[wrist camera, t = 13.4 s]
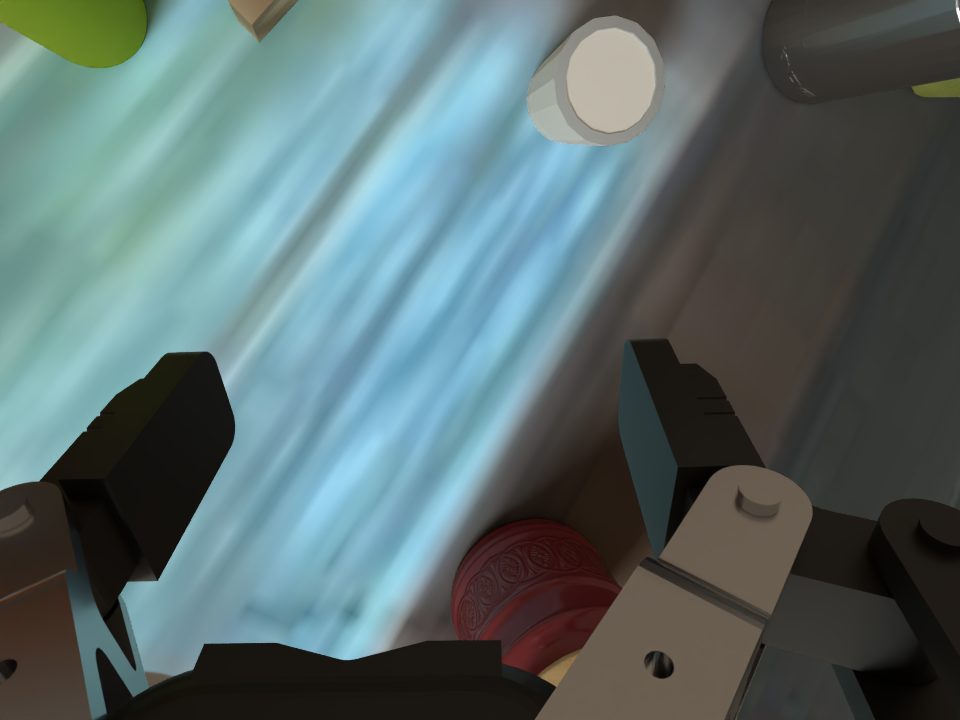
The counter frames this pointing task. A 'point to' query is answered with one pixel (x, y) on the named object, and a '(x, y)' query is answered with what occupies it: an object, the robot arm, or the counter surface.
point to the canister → (533, 595)
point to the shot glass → (598, 85)
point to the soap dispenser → (80, 27)
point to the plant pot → (939, 89)
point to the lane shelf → (260, 14)
